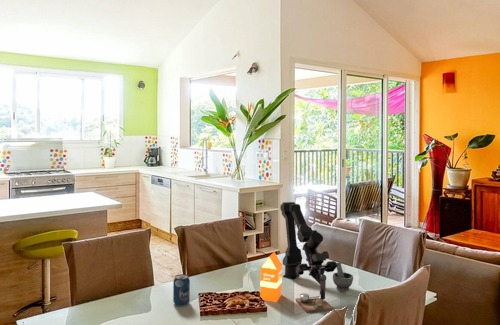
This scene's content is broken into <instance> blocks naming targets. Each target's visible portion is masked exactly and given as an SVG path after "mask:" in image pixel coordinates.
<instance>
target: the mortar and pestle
mask: <svg viewBox="0 0 500 325" xmlns="http://www.w3.org/2000/svg"><path fill="white" fill-rule="evenodd" d="M336 263H337V267H336V272H334V273H333V274H332V281H333V283H334V285H335V286H336V288H335V289H336V290H337V291H338V292H341V293H342V292H345V293H346V292H349V290H350V287H351V286H352V284H353V281H354V274H352V273H349V272H344V270H343V268H342V262H341V261H340V262H338V261H337V262H336Z"/></svg>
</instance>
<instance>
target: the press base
mask: <svg viewBox="0 0 500 325" xmlns="http://www.w3.org/2000/svg"><path fill="white" fill-rule="evenodd" d="M315 297H320V295H318V296H315ZM295 302H296V304H298V306H299V307H300V308H301V309H303V311H304V312H306V313H307V314H312V313H321V312H323V313H324V312H330V311H331V310H332V311H334V307H333V305H331V304H330V303H329V302H328V301H327V300H325V299H323V301H322V300H321V299H317V300H316V301H315V300H313V302H307V303H303V302H300V297H299V298H295Z"/></svg>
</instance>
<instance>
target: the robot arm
mask: <svg viewBox="0 0 500 325" xmlns="http://www.w3.org/2000/svg"><path fill="white" fill-rule="evenodd" d="M279 206H280V207H279V208H280V211H281V215H282V217H283V218H284V220H285V231H286V242H287V247H286V250H285V251H284V252H285V254H284V256H283V259H282V266H284V274H283V276H282V278H286V279H291V280H296V279H297V278H299V277H300V276H301V275H304V273H305V272H307V271H308V276H310V277H312V278H313V279H314V280H315V281H316V282H317V283H318V284H319V285H320V275H322V274H324V275H325V272H326V273H333V272H334V271H335V270H337V263H338V262H336V261H335V260H331V261H327V259H329V258H330V253H329V252H328V251H327V250H326V251H322V252H321V253H320V252H318V248H319V247H320V245H321V244H322V243H323V240H324V236H323V235H322V234H321V233H320V232H318V231H317V230H316V229H314V230H313V229H312V227H311V226H309V225H308V224H307V222H306V219H305V217H304V213H303V212H302V208H301V205H300V204H298V203H295V201H286V202H282V203H281V204H280V205H279ZM296 228H297V232H296ZM297 239H298V241H299V242H300V243H304V244H303V245H302V250H301V248H299V247H298V243H297ZM302 251H304V254H305V257H306V258H305V261H306V262H308V263H302V261H303V254H302ZM325 261H327V262H326V263H325ZM324 263H325V264H324Z"/></svg>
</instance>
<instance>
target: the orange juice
mask: <svg viewBox="0 0 500 325" xmlns="http://www.w3.org/2000/svg"><path fill="white" fill-rule="evenodd" d="M282 271H283V263H282V262H281V261H280V259H279V257H278V256H277V254H276V252H275V251H273V253H271V254H270V255H269V256H268V258H267V259H266V260H265V262H263V264H262V265H261V267H260V283H259V284H260V288H259V289H260V291H259V292H260V293H259V294H260V295H259V296H260V297H261V298H262V299H264V300H263V301H269V302H274V303H277V302H278V300H279V299H280V297H281V296H282V284H283V283H282V282H283V276H282V275H283V272H282ZM260 297H259V298H260Z"/></svg>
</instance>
